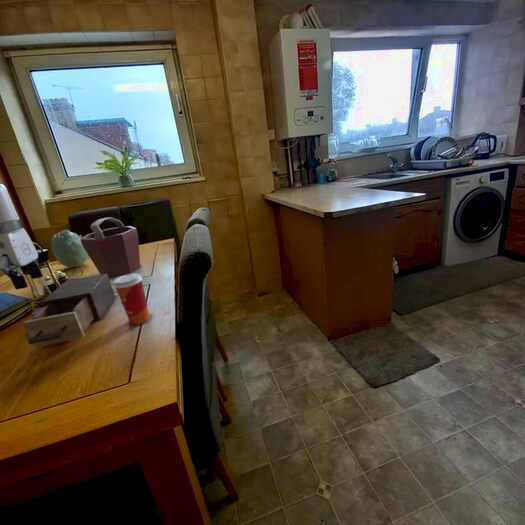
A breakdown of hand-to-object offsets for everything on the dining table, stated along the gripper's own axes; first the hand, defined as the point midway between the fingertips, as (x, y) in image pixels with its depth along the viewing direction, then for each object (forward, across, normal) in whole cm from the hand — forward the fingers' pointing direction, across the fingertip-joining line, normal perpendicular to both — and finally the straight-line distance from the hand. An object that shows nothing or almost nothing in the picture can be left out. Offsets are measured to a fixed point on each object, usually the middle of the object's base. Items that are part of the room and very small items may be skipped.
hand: (30, 282), depth 87 cm
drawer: (+13, -13, -12) cm, 22 cm away
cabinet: (+14, +1, -12) cm, 18 cm away
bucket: (+14, +42, -12) cm, 46 cm away
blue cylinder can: (+14, 0, 0) cm, 14 cm away
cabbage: (+14, +63, +15) cm, 66 cm away
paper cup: (+14, -13, -32) cm, 37 cm away
